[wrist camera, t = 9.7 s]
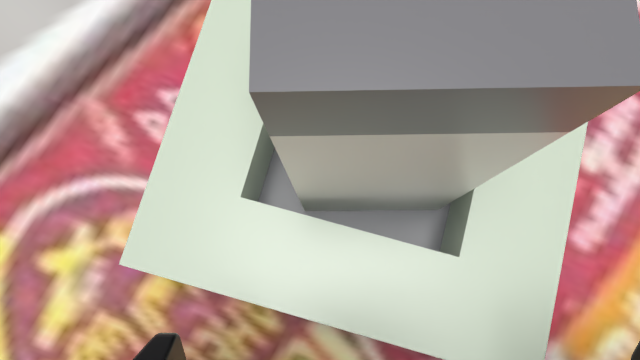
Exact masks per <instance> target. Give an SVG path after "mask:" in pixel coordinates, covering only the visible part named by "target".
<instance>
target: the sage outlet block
mask: <svg viewBox="0 0 640 360" xmlns="http://www.w3.org/2000/svg"><path fill="white" fill-rule="evenodd" d="M250 23H251V0H212V1H211V3H210V6H209V9H208V12H207V15H206V18H205V20H204V23H203V26H202V29H201V32H200V35H199V38H198V40H197V43H196V46H195V49H194V52H193V55H192V58H191V60H190V63H189V66H188V69H187V72H186V75H185V78H184V80H183V83H182V86H181V89H180V92H179V95H178V97H177V100H176V103H175V106H174V109H173V112H172V115H171V117H170V120H169V123H168V126H167V129H166V132H165V135H164V137H163V140H162V143H161V146H160V149H159V152H158V155H157V157H156V160H155V163H154V166H153V169H152V172H151V175H150V177H149V180H148V183H147V186H146V189H145V192H144V194H143V197H142V200H141V203H140V206H139V209H138V212H137V214H136V217H135V220H134V223H133V226H132V229H131V232H130V234H129V237H128V240H127V243H126V246H125V249H124V252H123V254H122V257H121V260H120V263H119V265H123V266H126V267H130V268H133V269H137V270H140V271H143V272H147V273H150V274H154V275H157V276H160V277H164V278H167V279H171V280H174V281H178V282H181V283H184V284H188V285H191V286H195V287H198V288H201V289H205V290H208V291H212V292H215V293H219V294H222V295H225V296H229V297H232V298H236V299H239V300H243V301H246V302H249V303H253V304H256V305H260V306H263V307H266V308H270V309H273V310H277V311H280V312H284V313H287V314H290V315H294V316H297V317H301V318H304V319H307V320H311V321H314V322H318V323H321V324H325V325H328V326H331V327H335V328H338V329H342V330H345V331H348V332H352V333H355V334H359V335H362V336H366V337H369V338H372V339H376V340H379V341H383V342H386V343H390V344H393V345H396V346H400V347H403V348H407V349H410V350H413V351H417V352H420V353H424V354H427V355H431V356H434V357H437V358H441V359H444V360H545V354H546V349H547V343H548V338H549V332H550V327H551V321H552V316H553V310H554V305H555V299H556V294H557V288H558V283H559V277H560V272H561V266H562V261H563V255H564V250H565V244H566V239H567V234H568V228H569V223H570V217H571V212H572V206H573V201H574V195H575V190H576V184H577V179H578V173H579V168H580V162H581V157H582V151H583V146H584V140H585V135H586V129H587V124H588V122H586V123H585V124H583V125H581V126H580V127H578V128H576V129H574V130H573V131H571V132H569V133H568V134H566V135H564V136H563V137H561V138H559V139H558V140H556V141H554V142H552V143H551V144H549V145H547V146H546V147H544V148H542V149H541V150H539V151H537V152H535V153H534V154H532V155H530V156H529V157H527V158H525V159H524V160H522V161H520V162H519V163H517V164H515V165H513V166H512V167H510V168H508V169H507V170H505V171H503V172H502V173H500V174H498V175H496V176H495V177H493V178H491V179H490V180H488V181H486V182H485V183H483V184H481V185H480V186H478V187H476V188H474V189H473V190H471V191H469V192H468V193H466V194H464V195H463V196H461V197H459V198H457V199H456V200H454V201H452V202H451V203H449V204H447V205H446V206H444V207H442V208H441V209H439V210H359V211H304V209H303V206H302V204H301V202H300V200H299V198H298V196H297V194H296V192H295V189H294V187H293V185H292V183H291V181H290V179H289V177H288V174H287V172H286V170H285V168H284V166H283V164H282V162H281V160H280V157H279V155H278V153H277V151H276V149H275V147H274V145H273V143H272V140H271V138H270V136H269V134H268V132H267V130H266V128H265V125H264V123H263V121H262V119H261V117H260V115H259V113H258V111H257V108H256V106H255V104H254V102H253V100H252V98H251V96H250V94H249V66H250Z"/></svg>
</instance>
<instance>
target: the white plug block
mask: <svg viewBox="0 0 640 360" xmlns="http://www.w3.org/2000/svg"><path fill="white" fill-rule="evenodd" d="M639 91H640V22H639V15H638V8H637V1H636V0H251V23H250V66H249V94H250V96H251V98H252V100H253V102H254V104H255V106H256V108H257V111H258V113H259V115H260V117H261V119H262V121H263V123H264V125H265V128H266V130H267V132H268V134H269V136H270V138H271V140H272V143H273V145H274V147H275V149H276V151H277V153H278V155H279V157H280V160H281V162H282V164H283V166H284V168H285V170H286V172H287V174H288V177H289V179H290V181H291V183H292V185H293V187H294V189H295V192H296V194H297V196H298V198H299V200H300V202H301V204H302V206H303V209H304V211H359V210H439V209H441V208H442V207H444V206H446V205H447V204H449V203H451V202H452V201H454V200H456V199H457V198H459V197H461V196H463V195H464V194H466V193H468V192H469V191H471V190H473V189H474V188H476V187H478V186H480V185H481V184H483V183H485V182H486V181H488V180H490V179H491V178H493V177H495V176H496V175H498V174H500V173H502V172H503V171H505V170H507V169H508V168H510V167H512V166H513V165H515V164H517V163H519V162H520V161H522V160H524V159H525V158H527V157H529V156H530V155H532V154H534V153H535V152H537V151H539V150H541V149H542V148H544V147H546V146H547V145H549V144H551V143H552V142H554V141H556V140H558V139H559V138H561V137H563V136H564V135H566V134H568V133H569V132H571V131H573V130H574V129H576V128H578V127H580V126H581V125H583V124H585V123H586V122H588V121H590V120H591V119H593V118H595V117H597V116H598V115H600V114H602V113H603V112H605V111H607V110H608V109H610V108H612V107H613V106H615V105H617V104H619V103H620V102H622V101H624V100H625V99H627V98H629V97H630V96H632V95H634V94H636V93H637V92H639Z"/></svg>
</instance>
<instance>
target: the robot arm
mask: <svg viewBox="0 0 640 360" xmlns="http://www.w3.org/2000/svg"><path fill="white" fill-rule="evenodd" d="M133 360H186V356H185V353H184V349H183V346H182V342H181V339H180V336H179V335H178V334H177V333H158V334H157V335H155V336H154V337H153V338H152V339H151V340H150V341H149V342H148V343H147V345H146V346H145V347H144V348H143V349H142V350H141V351H140V352H139V353H138V355H137V356H136V357H135V358H134V359H133ZM631 360H640V341H639V343H638V345H637V347H636V349H635V351H634V352H633V354H632V356H631Z"/></svg>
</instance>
